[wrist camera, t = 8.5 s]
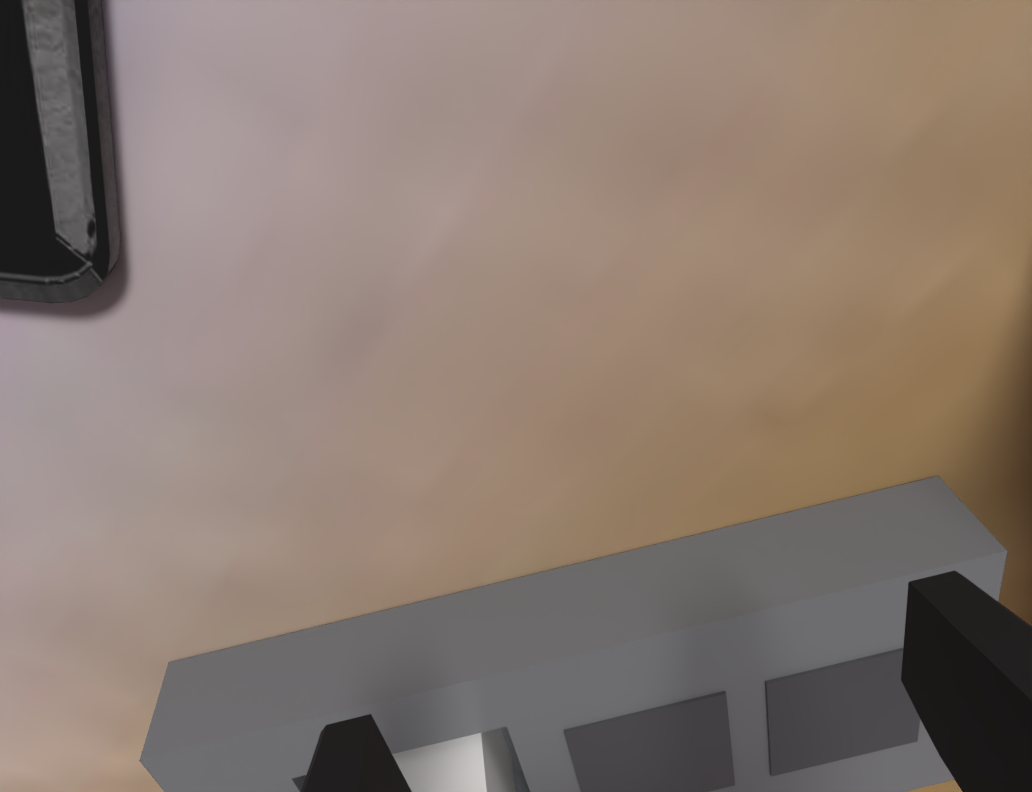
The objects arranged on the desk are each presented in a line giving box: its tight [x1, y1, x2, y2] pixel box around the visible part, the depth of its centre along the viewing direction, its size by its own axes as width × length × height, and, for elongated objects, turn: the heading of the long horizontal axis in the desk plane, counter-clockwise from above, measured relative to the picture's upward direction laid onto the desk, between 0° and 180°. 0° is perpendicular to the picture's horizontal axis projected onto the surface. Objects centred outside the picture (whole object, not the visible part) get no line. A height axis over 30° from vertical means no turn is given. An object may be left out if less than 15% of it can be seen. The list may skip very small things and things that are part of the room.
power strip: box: [140, 476, 1007, 792], centre depth 24 cm, size 22×10×3 cm, turn 102°
